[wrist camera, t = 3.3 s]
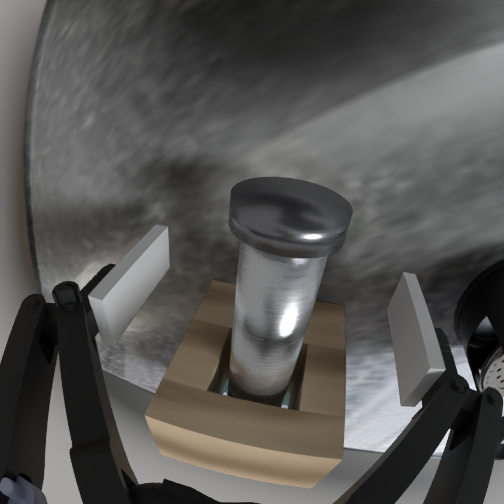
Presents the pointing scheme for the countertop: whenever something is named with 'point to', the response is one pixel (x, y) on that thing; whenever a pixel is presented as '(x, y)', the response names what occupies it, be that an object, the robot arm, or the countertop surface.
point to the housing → (250, 413)
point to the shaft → (278, 277)
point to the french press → (478, 348)
